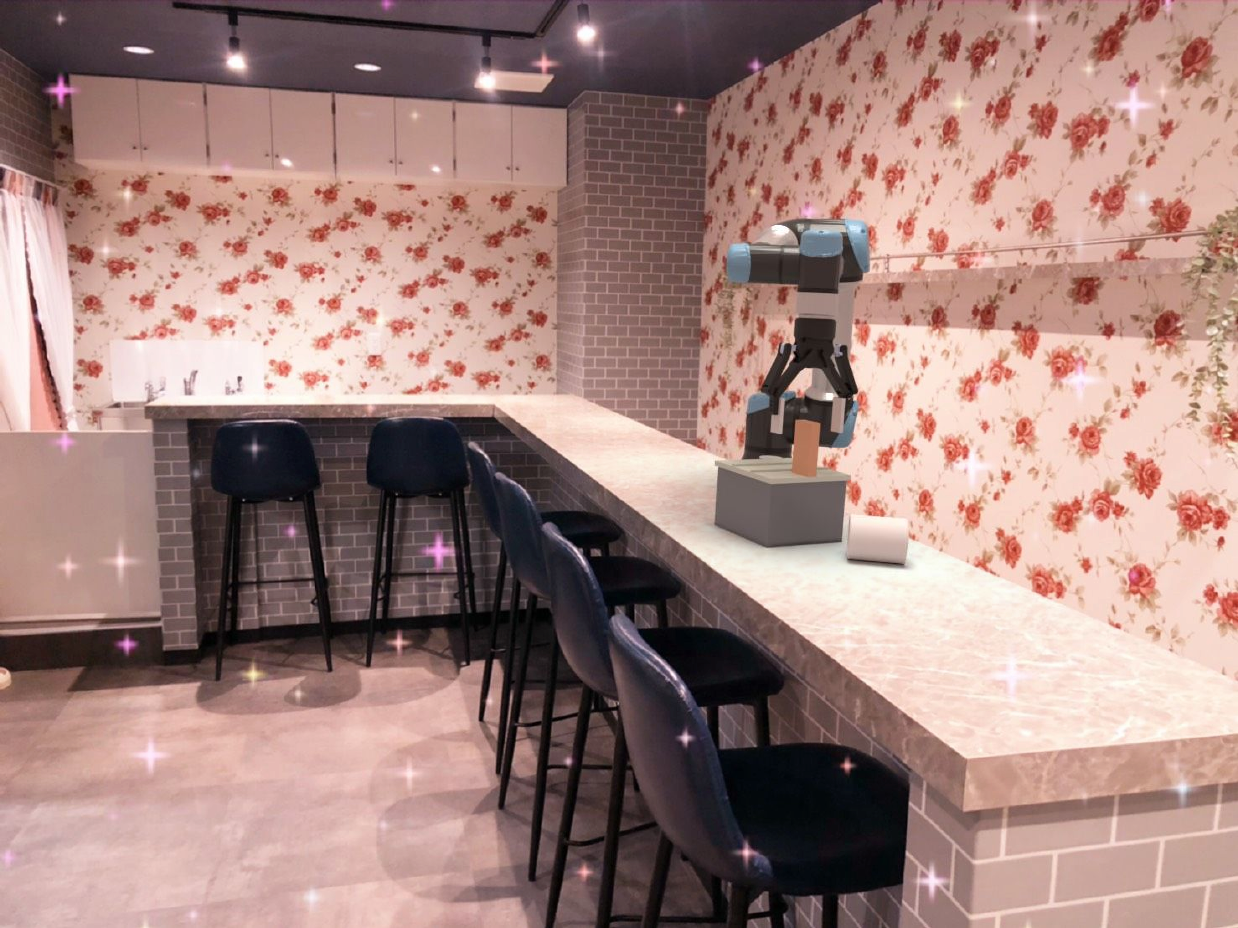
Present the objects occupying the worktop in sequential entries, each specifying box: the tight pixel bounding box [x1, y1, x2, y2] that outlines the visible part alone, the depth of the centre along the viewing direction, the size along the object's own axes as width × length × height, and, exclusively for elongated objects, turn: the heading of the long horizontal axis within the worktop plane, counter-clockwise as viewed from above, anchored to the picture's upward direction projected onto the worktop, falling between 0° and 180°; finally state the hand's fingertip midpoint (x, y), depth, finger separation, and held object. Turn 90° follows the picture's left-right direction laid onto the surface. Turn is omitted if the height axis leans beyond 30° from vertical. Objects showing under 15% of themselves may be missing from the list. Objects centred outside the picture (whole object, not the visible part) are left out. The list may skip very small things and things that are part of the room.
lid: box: [714, 420, 852, 484], centre depth 191 cm, size 18×20×12 cm
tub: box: [714, 466, 847, 548], centre depth 193 cm, size 17×19×12 cm
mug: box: [846, 513, 910, 565], centre depth 178 cm, size 12×10×8 cm
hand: (806, 432), depth 184 cm, fingers open, 13 cm apart
